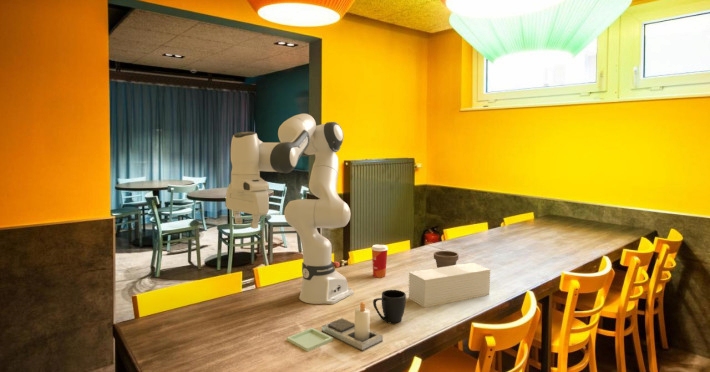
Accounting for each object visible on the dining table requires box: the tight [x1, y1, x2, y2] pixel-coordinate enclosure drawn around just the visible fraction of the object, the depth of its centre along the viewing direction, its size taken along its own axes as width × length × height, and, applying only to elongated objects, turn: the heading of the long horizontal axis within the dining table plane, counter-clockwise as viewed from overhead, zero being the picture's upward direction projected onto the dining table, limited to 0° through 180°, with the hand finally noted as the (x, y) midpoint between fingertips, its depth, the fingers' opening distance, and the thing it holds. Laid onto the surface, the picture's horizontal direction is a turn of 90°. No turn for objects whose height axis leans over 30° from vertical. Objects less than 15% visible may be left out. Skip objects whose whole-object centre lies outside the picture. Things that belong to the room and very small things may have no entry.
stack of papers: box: [408, 262, 491, 308], centre depth 169 cm, size 32×11×11 cm, turn 116°
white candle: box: [354, 302, 371, 342], centre depth 129 cm, size 5×5×11 cm
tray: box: [286, 327, 334, 353], centre depth 130 cm, size 10×10×2 cm
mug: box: [372, 289, 407, 325], centre depth 145 cm, size 8×12×10 cm
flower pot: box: [433, 250, 459, 268], centre depth 197 cm, size 12×11×10 cm
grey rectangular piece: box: [321, 317, 384, 352], centre depth 133 cm, size 9×18×3 cm, turn 45°
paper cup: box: [370, 244, 389, 279], centre depth 194 cm, size 8×8×14 cm
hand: (246, 225), depth 136 cm, fingers open, 8 cm apart
